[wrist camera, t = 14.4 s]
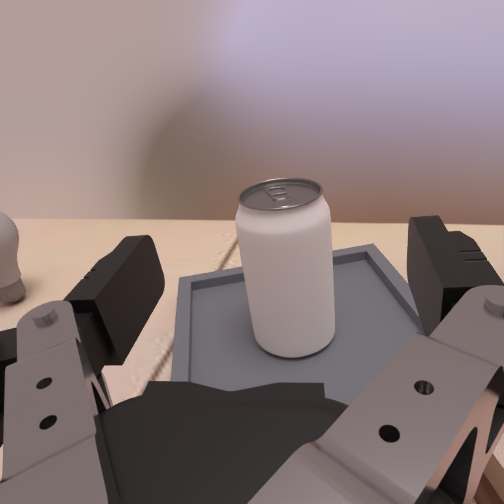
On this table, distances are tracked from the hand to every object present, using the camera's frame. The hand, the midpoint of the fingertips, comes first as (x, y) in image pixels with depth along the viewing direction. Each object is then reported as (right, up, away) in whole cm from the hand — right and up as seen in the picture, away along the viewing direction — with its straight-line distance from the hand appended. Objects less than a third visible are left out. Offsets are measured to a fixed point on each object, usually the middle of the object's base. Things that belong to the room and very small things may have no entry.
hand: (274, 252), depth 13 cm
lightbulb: (-27, -6, +32) cm, 43 cm away
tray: (+3, -7, +20) cm, 22 cm away
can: (+3, -7, +20) cm, 21 cm away
